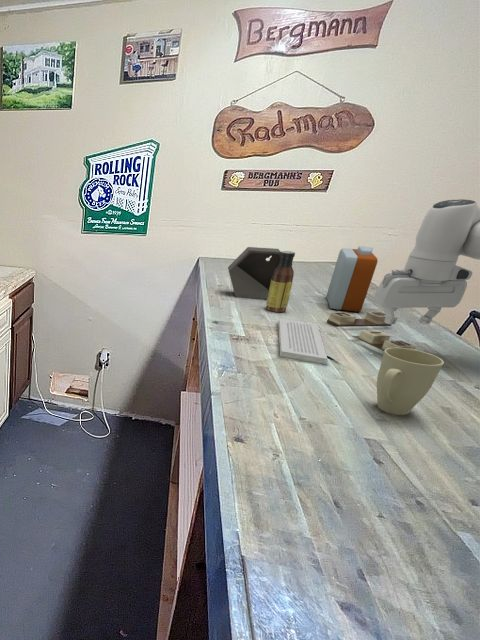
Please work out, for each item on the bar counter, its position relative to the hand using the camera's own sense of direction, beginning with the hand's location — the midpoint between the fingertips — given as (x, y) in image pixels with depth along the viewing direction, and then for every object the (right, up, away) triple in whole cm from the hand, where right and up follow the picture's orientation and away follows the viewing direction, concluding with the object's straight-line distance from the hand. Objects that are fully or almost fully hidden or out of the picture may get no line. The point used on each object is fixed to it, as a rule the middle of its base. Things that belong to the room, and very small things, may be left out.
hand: (406, 323), depth 117 cm
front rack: (0, -7, +7) cm, 10 cm away
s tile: (0, -7, +3) cm, 8 cm away
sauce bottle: (-10, +8, +40) cm, 42 cm away
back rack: (+8, +2, +26) cm, 27 cm away
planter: (-9, +15, +56) cm, 59 cm away
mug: (-24, -20, -23) cm, 39 cm away
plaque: (-19, -4, +13) cm, 24 cm away
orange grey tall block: (+18, +10, +46) cm, 50 cm away
